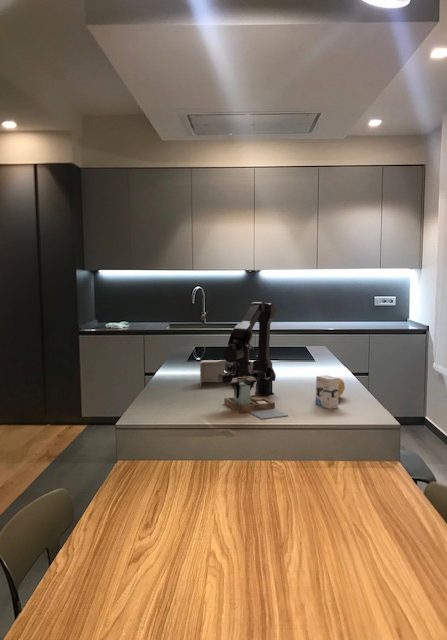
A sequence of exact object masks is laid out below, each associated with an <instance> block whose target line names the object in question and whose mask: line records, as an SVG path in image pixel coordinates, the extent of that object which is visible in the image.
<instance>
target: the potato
mask: <svg viewBox="0 0 447 640" xmlns="http://www.w3.org/2000/svg"><path fill="white" fill-rule="evenodd" d="M334 377H335V376H334ZM335 378H338V379H339V396H338V398H339V397H340V396H341V395H343V393H344V391H345V387H346V386H345V385H346V384H345V382H344V380H343V379H342V378H340V377H335Z"/></svg>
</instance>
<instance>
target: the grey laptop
mask: <svg viewBox="0 0 447 640" xmlns="http://www.w3.org/2000/svg"><path fill="white" fill-rule="evenodd" d="M249 362H250V365H249V372H250V373H251V372H252V369H253V361H252V360H250V359H249ZM225 364H231V365H233V362H232V363H229V362H227V361H226V360H225V359H219V360H218V359H216V360H214V359H207V360H206V359H205V360H201V361H200V364H199V367H200V368H199V373H200V374H199V375H200V376H199V384H200V385H199V386H200V388H201V387H202V383H221V382H220V381H218V375H219V374H221V373H228V374H229V372H225ZM231 375H235V374H231ZM239 377H240V376H239ZM245 379H246V378H245ZM237 382H242V383H245V380H244V379H237ZM253 387H255V384H254V385H253Z"/></svg>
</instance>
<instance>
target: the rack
mask: <svg viewBox="0 0 447 640" xmlns="http://www.w3.org/2000/svg"><path fill="white" fill-rule="evenodd" d="M250 397H258V398H261V399H262V401H265V402H267V403H262V404H256V403H254V402H252V401H250V405H244V406H241V405H239V404H237V403H235V402H234V396H231V397H230V396H229V397H223V398H224V399H223V404H224V405H226V406H227V407H229V408H230V409H232V410H234V411H236V412H237V413H239V414H243V413H249V411H256V410H264V409H273V408H274V409H276V406H275V405H276V403H275V402H274V401H272V400H270V399H268V398H265V397H263V396H261V395H259V394H252V395H251V394H250Z"/></svg>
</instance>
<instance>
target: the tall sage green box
mask: <svg viewBox="0 0 447 640" xmlns="http://www.w3.org/2000/svg"><path fill="white" fill-rule="evenodd" d="M250 395H251V390H250V386H249V385H247V384H245V382H239V398H238V399H237V398H236V395H235V392H234V391H233V397H234V402H235V403H237V404H239V405H241V406H244V405H250Z"/></svg>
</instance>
